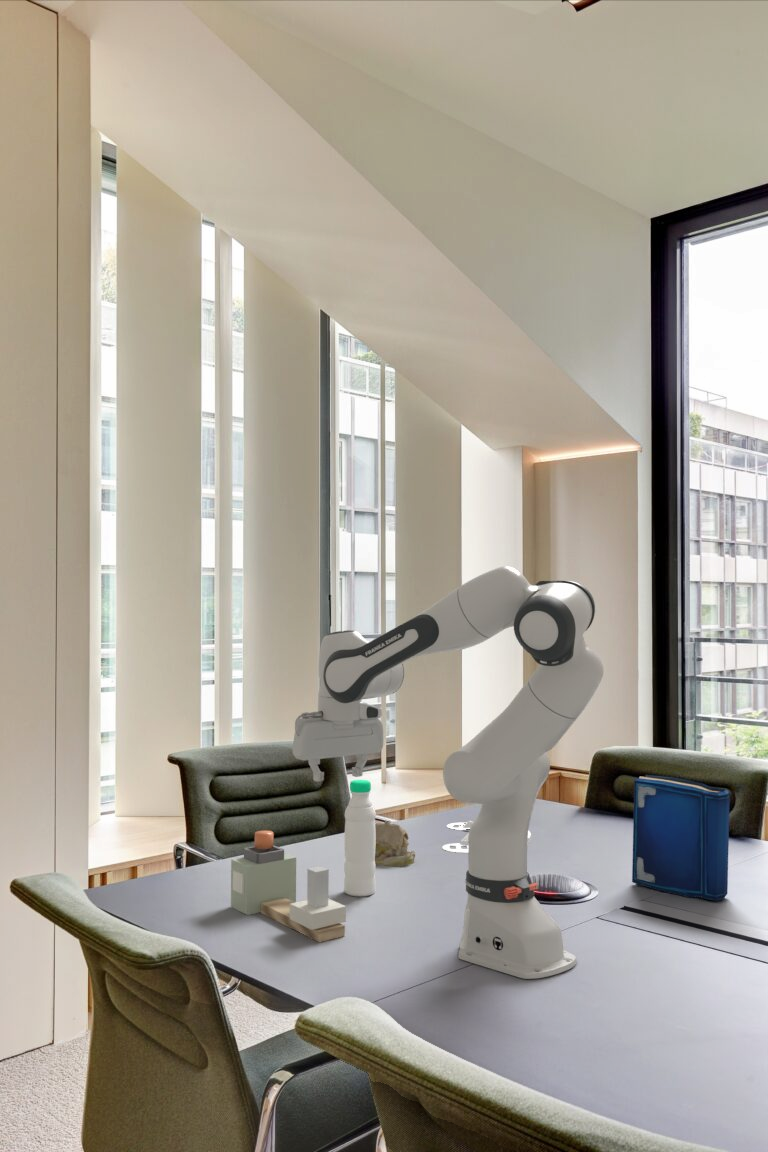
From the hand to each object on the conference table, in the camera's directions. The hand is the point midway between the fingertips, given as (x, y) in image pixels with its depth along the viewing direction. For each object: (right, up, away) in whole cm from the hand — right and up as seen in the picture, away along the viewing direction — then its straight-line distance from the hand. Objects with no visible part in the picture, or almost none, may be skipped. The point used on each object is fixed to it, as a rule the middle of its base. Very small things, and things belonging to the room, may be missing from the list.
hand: (338, 778), depth 192 cm
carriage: (-4, -27, -5) cm, 28 cm away
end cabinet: (-17, -30, +12) cm, 36 cm away
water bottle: (+4, -30, +21) cm, 37 cm away
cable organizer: (+38, -33, +73) cm, 89 cm away
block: (-7, -29, 0) cm, 30 cm away
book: (+77, -31, +23) cm, 86 cm away
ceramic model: (+10, -32, +49) cm, 59 cm away
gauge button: (-17, -17, +12) cm, 27 cm away
